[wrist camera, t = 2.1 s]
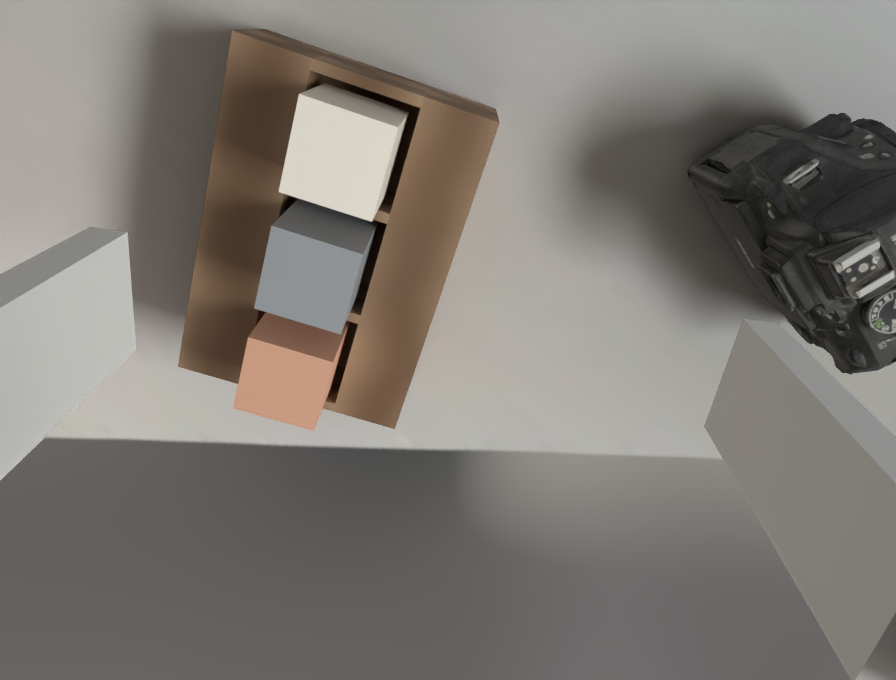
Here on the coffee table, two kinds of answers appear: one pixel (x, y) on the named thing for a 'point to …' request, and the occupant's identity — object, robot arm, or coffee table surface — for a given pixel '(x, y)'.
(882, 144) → the camera
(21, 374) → the robot arm
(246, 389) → the terracotta key
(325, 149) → the cream short block
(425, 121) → the wooden block tray
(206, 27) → the coffee table surface
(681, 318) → the coffee table surface
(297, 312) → the slate key
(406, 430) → the coffee table surface
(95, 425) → the coffee table surface
